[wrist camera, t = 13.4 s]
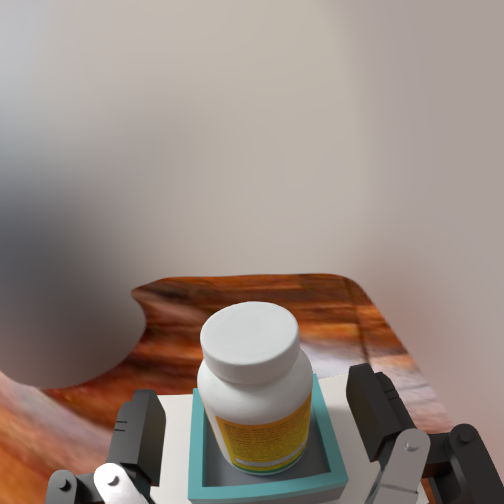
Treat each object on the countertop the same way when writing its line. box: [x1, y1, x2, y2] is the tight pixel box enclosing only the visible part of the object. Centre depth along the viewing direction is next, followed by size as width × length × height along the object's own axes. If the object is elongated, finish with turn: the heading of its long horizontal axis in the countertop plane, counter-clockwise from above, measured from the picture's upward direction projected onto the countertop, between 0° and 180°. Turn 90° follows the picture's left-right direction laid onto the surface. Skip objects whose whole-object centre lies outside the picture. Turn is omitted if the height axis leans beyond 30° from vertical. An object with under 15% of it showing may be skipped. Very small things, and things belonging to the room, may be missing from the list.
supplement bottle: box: [197, 302, 313, 475], centre depth 14 cm, size 5×5×10 cm
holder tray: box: [150, 373, 429, 504], centre depth 17 cm, size 20×14×5 cm
